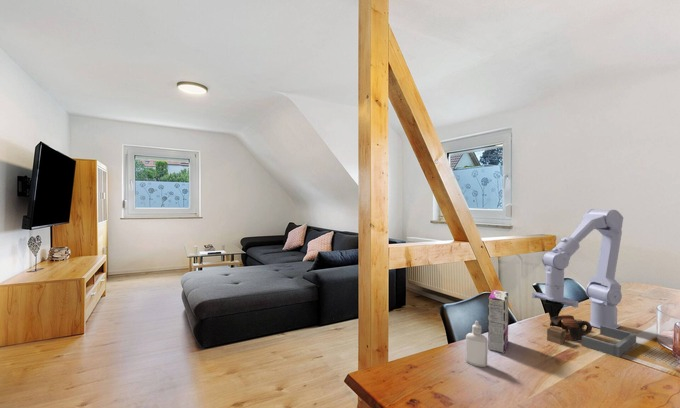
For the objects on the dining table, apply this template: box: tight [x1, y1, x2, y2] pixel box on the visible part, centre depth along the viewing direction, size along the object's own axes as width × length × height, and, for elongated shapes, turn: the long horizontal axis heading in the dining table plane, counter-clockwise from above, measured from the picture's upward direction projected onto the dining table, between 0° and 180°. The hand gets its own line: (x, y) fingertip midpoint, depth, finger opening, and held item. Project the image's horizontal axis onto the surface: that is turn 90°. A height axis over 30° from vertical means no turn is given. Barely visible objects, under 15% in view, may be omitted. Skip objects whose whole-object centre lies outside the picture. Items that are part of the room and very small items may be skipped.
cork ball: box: [574, 318, 586, 330], centre depth 120 cm, size 4×4×4 cm
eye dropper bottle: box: [464, 320, 488, 368], centre depth 92 cm, size 4×6×12 cm
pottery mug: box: [549, 314, 593, 342], centre depth 113 cm, size 12×10×8 cm
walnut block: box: [546, 326, 567, 345], centre depth 109 cm, size 4×4×4 cm
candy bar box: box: [487, 289, 509, 354], centre depth 105 cm, size 11×5×16 cm, turn 148°
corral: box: [581, 325, 637, 358], centre depth 107 cm, size 18×9×3 cm, turn 125°
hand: (553, 321), depth 120 cm, fingers closed
